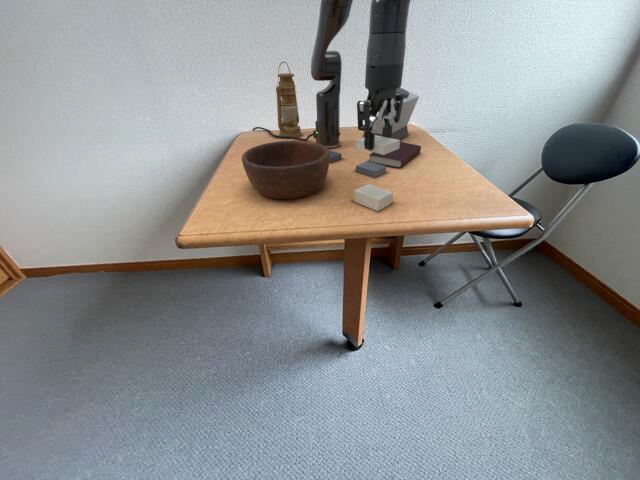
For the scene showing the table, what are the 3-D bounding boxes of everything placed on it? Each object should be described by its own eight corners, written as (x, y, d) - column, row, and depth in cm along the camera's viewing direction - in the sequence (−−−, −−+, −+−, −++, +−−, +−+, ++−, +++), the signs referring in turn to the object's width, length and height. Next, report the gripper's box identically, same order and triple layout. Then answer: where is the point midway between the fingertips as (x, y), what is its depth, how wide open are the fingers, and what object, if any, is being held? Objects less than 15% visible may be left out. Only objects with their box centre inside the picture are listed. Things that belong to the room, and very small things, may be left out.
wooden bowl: (239, 206, 74) (231, 169, 68) (255, 172, 94) (250, 141, 88) (332, 203, 74) (332, 165, 68) (328, 169, 94) (328, 138, 88)
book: (420, 153, 105) (422, 144, 103) (401, 169, 93) (402, 159, 91) (389, 148, 111) (390, 140, 110) (367, 162, 99) (368, 153, 97)
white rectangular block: (353, 201, 74) (354, 190, 73) (367, 194, 78) (368, 183, 76) (377, 211, 70) (378, 199, 68) (391, 203, 73) (393, 192, 71)
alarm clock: (381, 130, 135) (386, 83, 123) (413, 134, 127) (421, 84, 116) (361, 140, 122) (364, 88, 110) (395, 146, 114) (402, 90, 102)
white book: (356, 148, 66) (356, 139, 65) (371, 142, 70) (372, 134, 68) (383, 155, 61) (384, 145, 60) (399, 148, 65) (400, 140, 64)
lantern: (286, 130, 140) (279, 60, 123) (305, 131, 138) (301, 60, 121) (274, 138, 129) (265, 62, 111) (295, 139, 126) (289, 62, 109)
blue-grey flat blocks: (315, 158, 104) (315, 152, 103) (326, 154, 108) (326, 149, 107) (374, 177, 87) (375, 171, 86) (385, 172, 91) (386, 166, 90)
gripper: (390, 60, 62) (382, 137, 71) (347, 63, 54) (345, 150, 64) (420, 60, 57) (408, 142, 67) (378, 63, 49) (371, 156, 59)
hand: (377, 145), depth 65 cm, fingers closed on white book, 6 cm apart
